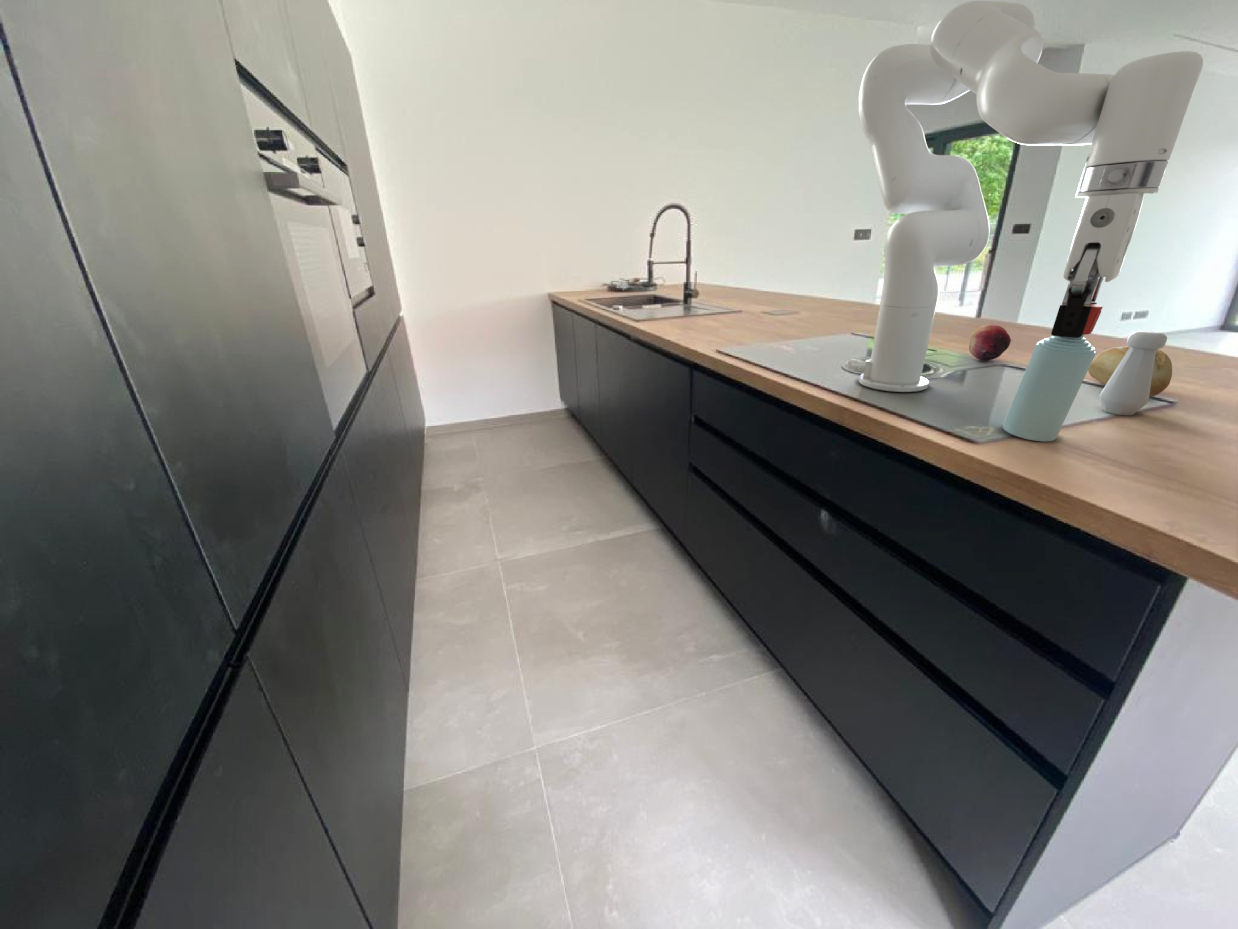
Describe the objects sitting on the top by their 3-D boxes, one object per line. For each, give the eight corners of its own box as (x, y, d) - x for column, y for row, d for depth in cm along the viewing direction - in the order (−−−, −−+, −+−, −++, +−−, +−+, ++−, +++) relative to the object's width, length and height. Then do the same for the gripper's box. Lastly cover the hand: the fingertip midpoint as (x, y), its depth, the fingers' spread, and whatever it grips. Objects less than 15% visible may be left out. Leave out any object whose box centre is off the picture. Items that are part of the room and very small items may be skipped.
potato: (1126, 379, 99) (1142, 339, 96) (1182, 402, 86) (1203, 356, 83) (1069, 378, 101) (1083, 338, 98) (1115, 400, 88) (1133, 355, 85)
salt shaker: (1151, 417, 80) (1187, 335, 75) (1109, 416, 81) (1142, 335, 76) (1126, 406, 85) (1157, 328, 80) (1087, 405, 86) (1115, 328, 81)
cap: (1057, 332, 68) (1069, 304, 66) (1053, 327, 71) (1064, 300, 69) (1093, 335, 66) (1106, 307, 65) (1087, 330, 69) (1099, 303, 68)
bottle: (1007, 436, 74) (1058, 312, 66) (998, 420, 80) (1045, 304, 71) (1061, 444, 72) (1122, 317, 63) (1049, 428, 77) (1103, 308, 69)
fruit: (985, 355, 121) (994, 321, 118) (1013, 362, 114) (1023, 326, 111) (956, 357, 120) (965, 323, 116) (983, 365, 113) (993, 329, 110)
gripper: (1157, 176, 54) (1096, 347, 61) (1165, 181, 64) (1112, 328, 72) (1068, 183, 59) (1021, 340, 66) (1088, 187, 69) (1046, 323, 77)
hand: (1069, 332), depth 69 cm, fingers closed on cap, 3 cm apart
